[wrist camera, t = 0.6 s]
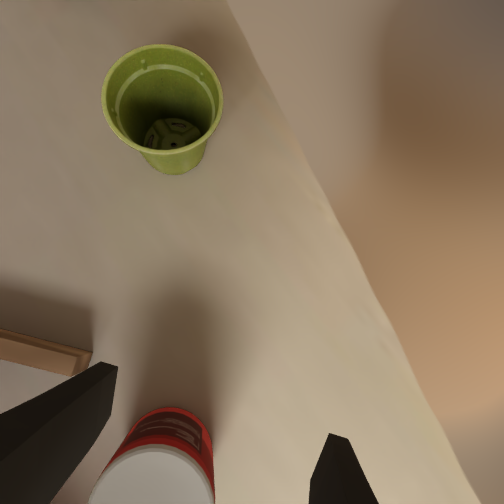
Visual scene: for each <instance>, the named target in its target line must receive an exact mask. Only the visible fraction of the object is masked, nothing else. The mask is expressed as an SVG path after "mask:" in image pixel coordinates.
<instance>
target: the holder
mask: <svg viewBox="0 0 504 504" xmlns="http://www.w3.org/2000/svg"><path fill="white" fill-rule="evenodd" d="M92 353H93V352H89V351H85V350H81V349H77V348H73V347H70V346H66V345H62V344H58V343H54V342H50V341H46V340H42V339H38V338H35V337H31V336H27V335H23V334H19V333H15V332H11V331H7V330H3V329H0V359H2V360H6V361H10V362H14V363H18V364H22V365H26V366H30V367H34V368H38V369H42V370H46V371H50V372H54V373H58V374H62V375H66V376H70V377H71V376H73V375H76V374H78V373H80V372H82V371H84V370H86V369H87V368H88V365H89V362H90V359H91V356H92Z"/></svg>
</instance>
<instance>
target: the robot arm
mask: <svg viewBox="0 0 504 504" xmlns="http://www.w3.org/2000/svg"><path fill="white" fill-rule="evenodd" d="M117 371H118V367H117V366H114V365H111V364H108V363H104V362H99V363H97V364H95V365H94V366H92V367H90V368H88V369H86V370H85V371H83V372H81V373H79V374H77V375H76V376H74V377H72V378H70V379H69V380H67V381H65V382H63V383H61V384H59V385H58V386H56V387H54V388H52V389H50V390H48V391H46V392H45V393H43V394H41V395H39V396H37V397H35V398H33V399H31V400H29V401H27V402H25V403H23V404H21V405H19V406H16V407H14V408H12V409H10V410H8V411H6V412H4V413H2V414H0V504H49V503H50V502H51V500H52V499H53V498H54V496H55V495H56V494H57V492H58V491H59V490H60V488H61V487H62V486H63V484H64V483H65V482H66V480H67V479H68V478H69V477H70V475H71V474H72V473H73V471H74V470H75V469H76V467H77V466H78V465H79V463H80V462H81V461H82V459H83V458H84V456H85V455H86V454H87V452H88V451H89V450H90V448H91V447H92V446H93V444H94V443H95V441H96V439H97V438H98V436H99V434H100V433H101V431H102V429H103V428H104V426H105V424H106V422H107V421H108V419H109V417H110V415H111V410H112V404H113V397H114V391H115V384H116V378H117ZM309 504H379V503H378V501H377V499H376V497H375V495H374V493H373V491H372V489H371V487H370V485H369V483H368V481H367V479H366V477H365V475H364V472H363V470H362V468H361V466H360V464H359V462H358V459H357V457H356V455H355V453H354V451H353V448H352V446H351V444H350V442H349V440H348V439H347V438H344V437H340V436H337V435H334V434H331V433H329V435H328V437H327V440H326V442H325V445H324V447H323V450H322V452H321V455H320V457H319V460H318V462H317V465H316V467H315V470H314V472H313V475H312V477H311V480H310V492H309Z"/></svg>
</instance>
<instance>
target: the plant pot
mask: <svg viewBox="0 0 504 504" xmlns="http://www.w3.org/2000/svg"><path fill="white" fill-rule="evenodd" d="M101 103H102V108H103V113H104V116H105V118H106V120H107V122H108V124H109V126H110V128H111V129H112V130H113V132H114V133H115V134H116V135H117V136H118V137H119V138H120V139H121V140H122V141H123V142H124V143H126V144H127V145H129V146H130V147H132V148H134V149H136V150H138V151H140V153H141V154H142V155H143V157H144V158H145V159H146V160H147V161H148V163H149V164H150V165H151V166H152V167H153V168H155V169H156V170H158V171H160V172H162V173H165V174H171V175H178V174H183V173H185V172H187V171H189V170H191V169H192V168H194V167H195V166H197V165H198V163H199V162H200V161H201V159H202V157H203V154H204V150H205V146H206V142H207V139H208V138H209V137H210V136H211V135H212V133H213V132H214V131H215V129H216V127H217V125H218V123H219V121H220V119H221V115H222V110H223V92H222V88H221V85H220V82H219V79H218V77H217V75H216V74H215V72H214V71H213V69H212V68H211V67H210V66H209V64H207V63H206V62H205V61H204V60H203V59H202V58H200V57H199V56H198V55H196V54H195V53H193V52H191V51H189V50H187V49H184V48H181V47H178V46H173V45H167V44H152V45H146V46H142V47H140V48H137V49H134V50H132V51H130V52H128V53H126V54H125V55H123V56H122V57H121V58H119V59H118V60H117V61H116V62H115V63H114V64H113V66H112V67H111V68H110V70H109V71H108V73H107V75H106V77H105V80H104V83H103V87H102V93H101ZM173 123H181V124H183V125H185V128H182V127H179V126H172V124H173ZM152 135H154V138H153V141H152V147H151V148H149V147H148V141H149V138H150V137H151V136H152ZM173 142H174V143H176V144H177V146H176V147H172V146H171V144H172V143H173Z"/></svg>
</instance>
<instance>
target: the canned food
mask: <svg viewBox="0 0 504 504" xmlns="http://www.w3.org/2000/svg"><path fill="white" fill-rule="evenodd" d="M88 504H215V486H214V467H213V451H212V443H211V440H210V437H209V434H208V432H207V430H206V428H205V426H204V425H203V424H202V423H201V421H200V420H199V419H198V418H197V417H195V416H194V415H193V414H192V413H190V412H188V411H186V410H183V409H179V408H175V407H166V408H160V409H157V410H154V411H152V412H149V413H148V414H146V415H145V416H143V417H142V418H141V419H140V420H139V421H138V422H137V423H136V424H135V425H134V426H133V428H132V429H131V431H130V432H129V433H128V435H127V436H126V438H125V439H124V441H123V442H122V444H121V445H120V447H119V448H118V450H117V451H116V453H115V454H114V456H113V457H112V458H111V460H110V461H109V463H108V464H107V466H106V467H105V469H104V470H103V472H102V474H101V475H100V477H99V478H98V480H97V482H96V484H95V486H94V488H93V490H92V492H91V495H90V498H89V501H88Z"/></svg>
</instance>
